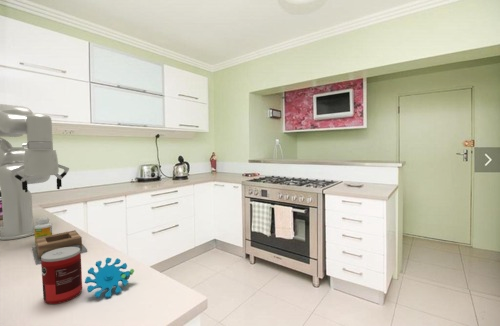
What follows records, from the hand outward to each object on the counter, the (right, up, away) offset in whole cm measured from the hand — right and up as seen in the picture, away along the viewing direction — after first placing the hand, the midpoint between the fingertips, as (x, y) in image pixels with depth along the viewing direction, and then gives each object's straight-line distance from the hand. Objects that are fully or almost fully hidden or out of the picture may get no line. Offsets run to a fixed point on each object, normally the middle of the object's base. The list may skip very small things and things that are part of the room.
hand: (42, 190), depth 97 cm
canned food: (+35, -23, -35) cm, 54 cm away
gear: (+45, -23, -33) cm, 60 cm away
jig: (+11, -22, -6) cm, 25 cm away
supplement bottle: (-1, -22, +2) cm, 22 cm away
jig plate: (+11, -22, -6) cm, 25 cm away
